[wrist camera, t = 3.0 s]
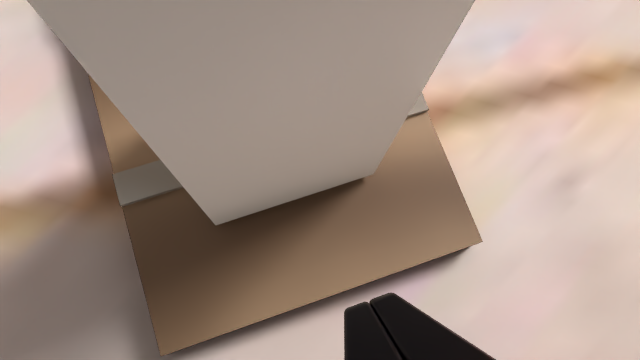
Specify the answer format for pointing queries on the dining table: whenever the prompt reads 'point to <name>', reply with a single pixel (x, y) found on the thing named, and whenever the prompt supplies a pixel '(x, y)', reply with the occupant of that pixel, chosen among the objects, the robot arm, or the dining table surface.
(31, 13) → the dining table surface
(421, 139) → the brown flat wooden board
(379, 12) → the white tall block
